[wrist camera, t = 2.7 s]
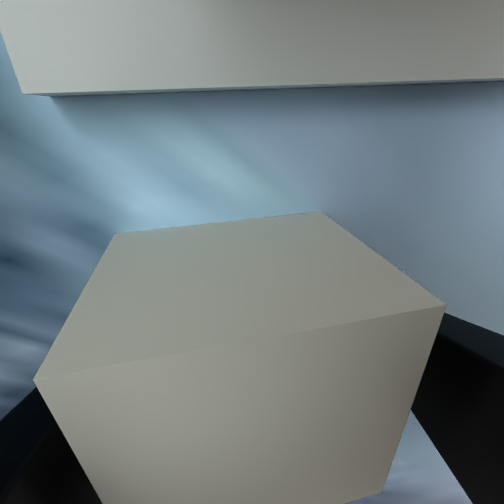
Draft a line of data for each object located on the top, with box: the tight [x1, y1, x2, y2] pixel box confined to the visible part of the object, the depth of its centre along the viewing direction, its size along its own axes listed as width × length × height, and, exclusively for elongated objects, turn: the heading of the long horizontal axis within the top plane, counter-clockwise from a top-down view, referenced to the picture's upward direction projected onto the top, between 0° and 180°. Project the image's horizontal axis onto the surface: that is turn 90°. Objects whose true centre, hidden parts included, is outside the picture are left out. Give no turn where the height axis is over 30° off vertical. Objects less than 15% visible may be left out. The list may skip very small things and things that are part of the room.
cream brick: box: [33, 212, 447, 504], centre depth 7 cm, size 6×6×4 cm
